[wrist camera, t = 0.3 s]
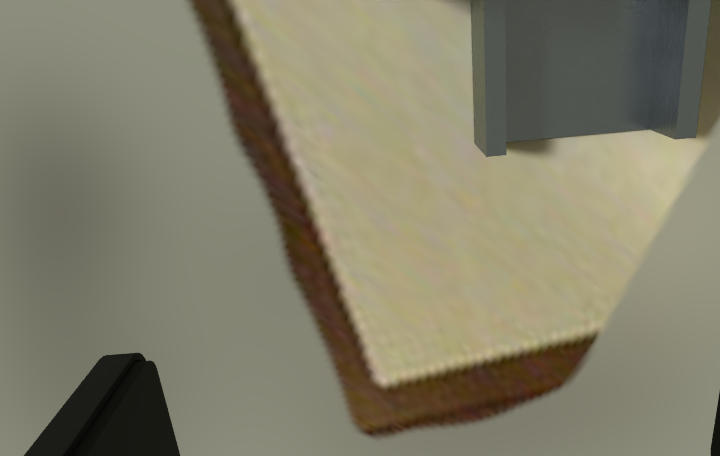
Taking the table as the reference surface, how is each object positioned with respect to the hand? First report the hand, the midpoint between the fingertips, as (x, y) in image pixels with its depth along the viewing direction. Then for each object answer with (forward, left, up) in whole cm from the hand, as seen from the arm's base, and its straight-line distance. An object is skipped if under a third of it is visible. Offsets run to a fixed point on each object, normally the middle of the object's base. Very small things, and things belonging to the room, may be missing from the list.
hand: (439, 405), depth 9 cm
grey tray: (-4, +12, -30) cm, 32 cm away
